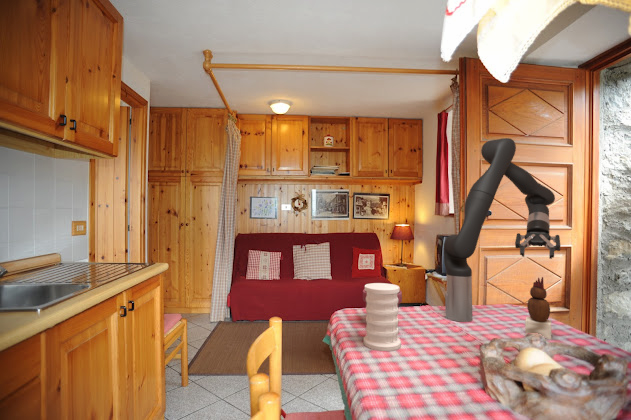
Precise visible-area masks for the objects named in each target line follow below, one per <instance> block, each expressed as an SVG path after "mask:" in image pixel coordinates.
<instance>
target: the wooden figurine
mask: <svg viewBox="0 0 631 420" xmlns="http://www.w3.org/2000/svg"><path fill="white" fill-rule="evenodd" d="M532 284H533V285H532V287H531V288H530V290H529V293H530V296H531V297H530V298H529V299H528V301H527V307H526V309H527V312H528V315H529V317H531V318H532V319H533V320H535V321H538V322H545V321H547V320H549V318H550V314H551V306H550V304H549V301H548V300H546V298H547V295H548V293H547V290H546V288H545V287H544V276H542V277H541V279H540V277H538V278H537V279H536V280H535V281H534V282H533V283H532Z"/></svg>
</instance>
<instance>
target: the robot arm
mask: <svg viewBox="0 0 631 420" xmlns="http://www.w3.org/2000/svg"><path fill="white" fill-rule="evenodd" d="M516 150H517V146H516V142H515V140H514V139H512V138H509V137H508V138H507V137H505V138H504V137H503V138H499V139H498V138H497V139H492V140H488V141H486V142H485V143H484V144H483V145H482V146H481V150H480V151H481V156H482V158H483V159H484V160H485V161H486V162H487V163H488V164H489V167H488V168H487V170H486V171H485V172H484V173H483V174H482V175H481V176H480V177H479V178H478V179H477V180H476V181H475V182H474V183H473V184H472V185H471V187H470V189H469V192H468V195H466V199H465V203H464V219H463V223H462V225H461V227H460V229H459V231H458V233H457V234H451V235H449V236H448V237H446V238H445V241H444V243H443V259H444V261H443V264H444V267H445V270H446V271H445V272H446V293H445V295H444V296H445V298H444V299H445V300H444V301H445V309H444V310H445V313H444V315H445V319H448V320H451V321H455V322H461V323H462V322H463V323H464V322H465V323H467V322H472V321H473V276H472V275H473V271H472V268H471V267H470V265H469V263H468V259H469V258H470V257H472V256H473V255H474V252H475V251H476V248H477V245H478V241H479V238H480V234H481V232H482V231H481V230H482V228H483V225H484V223H485V221H486V217H487V215H488V214H489V210H490V209H491V206H492V205H493V204H492V203H494V202H493V201H494V199H495V196H496V194H497V191H498V189H499V186H500V184H501V182H502V180H503V177H506V178H507V179H509V181H510V182H511V183H512V184H514V186H515V187H516V188H517V189H518V190H519V192H520V193H522V195H526V196H525V197H524V202H525V204H526V206H527V210H528V218H527V220H526V221H527V222H526V233H525V235H523V234H521V233H520V232H519V233H516V236H515V243H514V246H515V249H519V255H521V257H523V258H524V257H525V253H526V252H525V250H526V249H527V248H530V247H531V246H533V247H536V246H538V247H545V248H546V249H548V250H549V256H548V257H549V260H552V259H553V258H555V252H556V251H557V252H560V251H561V239H560V235H559V234H556V235H555V236H553V235H552V236H551V235H550V231H551V230H550V227H551V225H550V208H549V205H552V204H553V203H554V202H555V201H556V195H555V194H554V192H553V190H552V189H550V188H548V187H546V186H544V185H543V184H541V183H539V182H538V181H537V180H536V179H535V178H534V177H533V175H531V173H530V172H528V170H526V169H524V168H522V167H521V166H518V165H517V164H515V163H513V162H512V161H513V159H514V157H515V155H516ZM523 240H524V241H523ZM521 241H523V242H521ZM551 241H552V242H553V243H555V245H554V244H553V243H552V242H551Z"/></svg>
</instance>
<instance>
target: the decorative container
mask: <svg viewBox="0 0 631 420" xmlns="http://www.w3.org/2000/svg"><path fill="white" fill-rule="evenodd" d="M364 289H365V291H367V296H366V302H367V306H366V305H365V312H366V315H365V322H366V325H365V332H366V335H365V336H363V345H364V346H366V348H368V349H370V350H374V351H377V352H378V351H379V352H391V351H392V352H394V351H397V350H399V349H401V347H402V340H401V339H400V338H399V337H398V335H399V332H400V331H399V328H398V324H399V318H398V315H399V308H398V307H397V303H398V297H397V293H399V292H400V291H401V289H400V286H399V285H397V284H394V283H393V284H392V283H386V282H385V283H384V282H373V283H366V284H365V285H364Z"/></svg>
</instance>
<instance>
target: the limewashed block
mask: <svg viewBox="0 0 631 420" xmlns="http://www.w3.org/2000/svg"><path fill="white" fill-rule="evenodd" d="M524 326H525V335H526V334H527V333H538V334H541V335H542V336H544V337H546V338H547V339H551V340H552V336H551V335H552V320H551V319H548V320H547V321H545V322H538V321H535V320H533V319H532V318H531V317H530V316H526V318H525V325H524ZM547 339H546V340H547Z"/></svg>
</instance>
